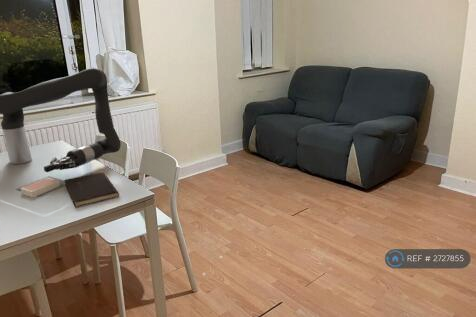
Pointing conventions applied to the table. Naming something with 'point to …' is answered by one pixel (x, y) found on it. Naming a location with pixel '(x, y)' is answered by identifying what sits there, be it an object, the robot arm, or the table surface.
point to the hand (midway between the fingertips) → (45, 169)
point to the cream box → (40, 187)
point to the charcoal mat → (62, 183)
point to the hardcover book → (90, 189)
